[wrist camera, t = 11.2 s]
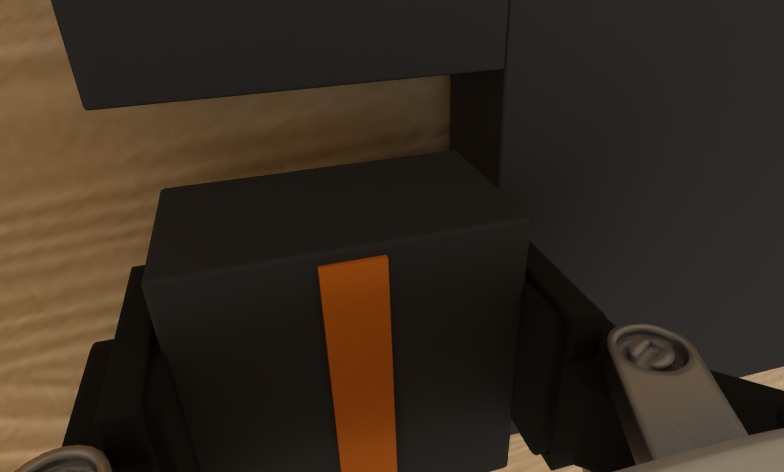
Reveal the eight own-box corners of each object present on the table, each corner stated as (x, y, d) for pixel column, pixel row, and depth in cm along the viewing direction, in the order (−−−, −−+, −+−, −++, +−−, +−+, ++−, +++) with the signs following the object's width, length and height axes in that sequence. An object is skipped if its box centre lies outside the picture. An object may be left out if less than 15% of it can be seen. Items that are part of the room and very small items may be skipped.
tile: (159, 187, 10) (138, 287, 7) (455, 147, 11) (537, 220, 8) (217, 415, 13) (218, 552, 10) (451, 364, 14) (511, 472, 11)
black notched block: (207, 424, 18) (206, 512, 15) (71, -82, 11) (23, -86, 8) (908, 270, 24) (996, 313, 21) (1096, -115, 17) (1260, -124, 15)
